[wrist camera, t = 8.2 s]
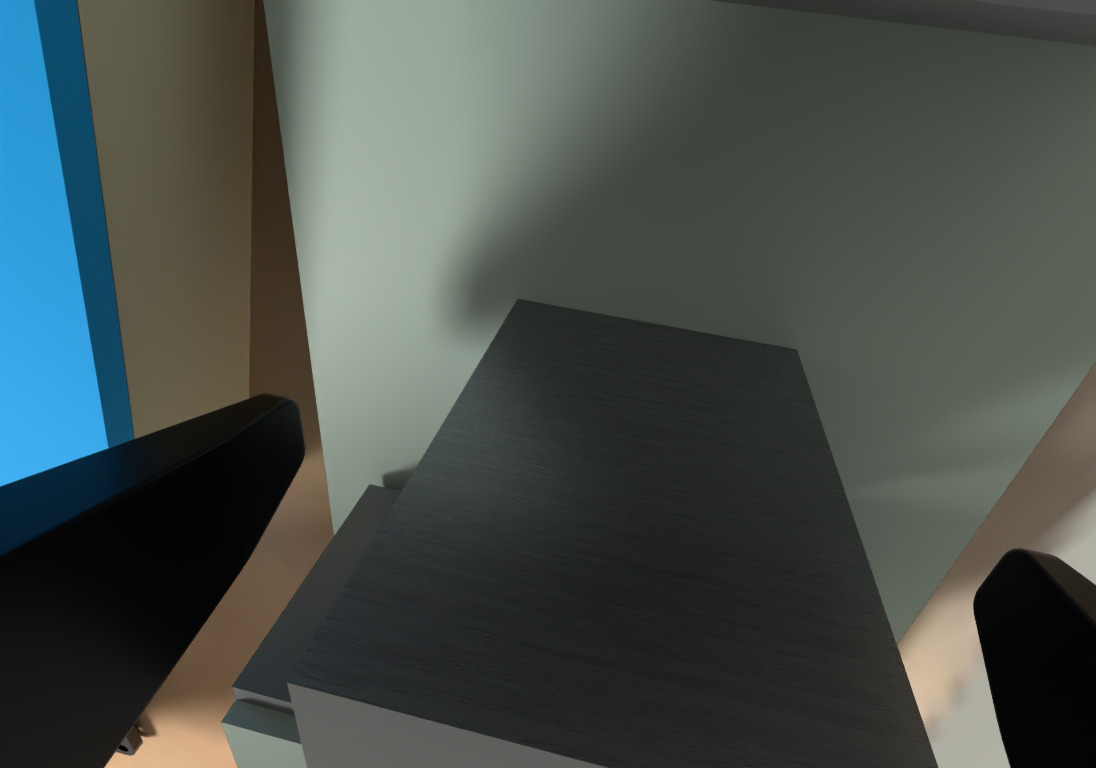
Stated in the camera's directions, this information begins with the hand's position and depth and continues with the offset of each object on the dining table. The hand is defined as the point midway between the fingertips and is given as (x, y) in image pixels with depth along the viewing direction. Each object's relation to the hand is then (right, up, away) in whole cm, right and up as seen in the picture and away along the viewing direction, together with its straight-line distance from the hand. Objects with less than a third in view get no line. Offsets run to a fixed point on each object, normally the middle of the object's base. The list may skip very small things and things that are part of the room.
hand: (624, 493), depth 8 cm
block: (0, +1, +2) cm, 2 cm away
